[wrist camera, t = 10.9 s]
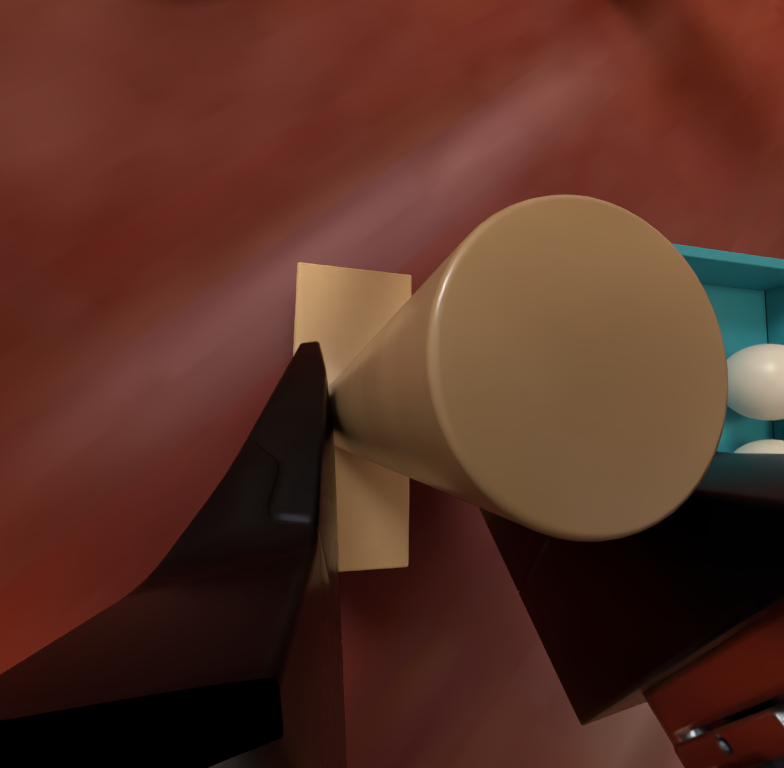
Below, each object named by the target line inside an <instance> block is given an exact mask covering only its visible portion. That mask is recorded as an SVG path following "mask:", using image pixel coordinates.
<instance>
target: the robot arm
mask: <svg viewBox="0 0 784 768" xmlns="http://www.w3.org/2000/svg"><path fill="white" fill-rule="evenodd" d="M479 509H480V511H481V513H482V515H483V517H484V520H485V522H486V524H487V526H488V528H489V530H490V532H491V534H492V537H493V539H494V541H495V543H496V545H497V547H498V549H499V551H500V554H501V556H502V558H503V560H504V562H505V564H506V566H507V569H508V571H509V573H510V575H511V577H512V579H513V581H514V583H515V586H516V588H517V590H518V591H520V592H519V595H520V597H521V599H522V601H523V603H524V605H525V607H526V609H527V612H528V614H529V616H530V618H531V620H532V622H533V624H534V626H535V629H536V631H537V633H538V635H539V637H540V639H541V641H542V643H543V646H544V648H545V650H546V652H547V654H548V656H549V658H550V660H551V663H552V665H553V667H554V669H555V671H556V673H557V675H558V677H559V680H560V682H561V684H562V686H563V688H564V690H565V692H566V695H567V697H568V699H569V701H570V703H571V705H572V707H573V709H574V711H575V713H576V715H577V717H578V719H579V721H580V723H581V725H586V724H588V723H591V722H594V721H596V720H599V719H602V718H604V717H607V716H610V715H612V714H615V713H618V712H620V711H623V710H626V709H628V708H631V707H634V706H636V705H639V704H642V703H644V702H648V704H649V706H650V707H651V709H652V711H653V712H654V714H655V716H656V717H657V719H658V721H659V722H660V724H661V726H662V727H663V729H664V731H665V732H666V734H667V736H668V737H669V739H670V741H671V742H672V744H673V746H674V749H675V752H676V754H677V756H678V757H679V759H680V761H681V762H682V764H683V766H684V767H685V768H784V454H769V453H728V452H720V451H716V453H715V456H714V458H713V460H712V463H711V465H710V467H709V469H708V470H707V472H706V474H705V476H704V477H703V479H702V481H701V482H700V484H699V485H698V487H697V488H696V489H695V490H694V492H693V493H692V494H691V495H690V497H689V498H688V499H687V500H686V501H685V502H684V503H683V504H682V505H681V506H680V507H679V508H678V509H677V510H676V511H675V512H674V513H672V514H671V515H669V516H668V517H667V518H665V519H664V520H662V521H661V522H660V523H658V524H656V525H654V526H652V527H650V528H648V529H646V530H644V531H642V532H640V533H636V534H633V535H630V536H627V537H624V538H620V539H614V540H607V541H600V542H575V541H570V540H564V539H559V538H554V537H551V536H548V535H545V534H543V533H540V532H537V531H534V530H532V529H529V528H527V527H525V526H522V525H520V524H517V523H515V522H513V521H510V520H508V519H506V518H503V517H501V516H499V515H496V514H494V513H491V512H489V511H487V510H484V509H482V508H480V507H479ZM341 641H342V632H341V606H340V579H339V552H338V526H337V499H336V472H335V445H334V432H333V424H332V416H331V407H330V398H329V390H328V382H327V373H326V367H325V363H324V359H323V354H322V350H321V346H320V343H319V342H318V341H312V342H305V343H301V344H300V345H299V347H298V349H297V351H296V352H295V354H294V356H293V358H292V359H291V361H290V363H289V365H288V367H287V368H286V370H285V372H284V374H283V375H282V377H281V379H280V381H279V383H278V384H277V386H276V388H275V390H274V391H273V393H272V395H271V397H270V399H269V400H268V402H267V404H266V406H265V408H264V409H263V411H262V413H261V415H260V416H259V418H258V420H257V422H256V424H255V425H254V427H253V429H252V431H251V432H250V434H249V436H248V439H247V440H246V441H245V443H244V444H243V446H242V448H241V450H240V452H239V454H238V455H237V457H236V458H235V460H234V462H233V463H232V465H231V467H230V468H229V470H228V472H227V473H226V475H225V476H224V477H223V479H222V480H221V482H220V483H219V485H218V486H217V487H216V489H215V490H214V492H213V493H212V495H211V496H210V497H209V499H208V500H207V501H206V503H205V504H204V505H203V507H202V508H201V509H200V511H199V512H198V513H197V515H196V516H195V517H194V519H193V520H192V522H191V523H190V524H189V526H188V527H187V528H186V530H185V531H184V532H183V534H182V535H181V536H180V538H179V539H178V540H177V542H176V543H175V544H174V546H173V547H172V548H171V550H170V551H169V552H168V554H167V555H166V556H165V558H164V559H163V560H162V561H161V563H160V564H159V565H158V566H157V568H156V569H155V570H154V571H153V572H152V573H151V574H150V575H149V576H148V578H147V579H145V580H144V581H143V582H142V583H141V584H140V585H139V586H138V587H137V588H136V589H135V590H133V591H132V592H131V593H130V594H128V595H127V596H126V597H124V598H123V599H121V600H120V601H118V602H116V603H115V604H113V605H112V606H110V607H108V608H107V609H105V610H104V611H102V612H100V613H99V614H97V615H96V616H94V617H92V618H91V619H89V620H88V621H86V622H84V623H83V624H81V625H80V626H78V627H76V628H75V629H73V630H71V631H70V632H68V633H67V634H65V635H63V636H62V637H60V638H59V639H57V640H55V641H54V642H52V643H51V644H49V645H47V646H46V647H44V648H43V649H41V650H39V651H38V652H36V653H34V654H33V655H31V656H30V657H28V658H26V659H25V660H23V661H22V662H20V663H18V664H17V665H15V666H14V667H12V668H10V669H9V670H7V671H6V672H4V673H2V674H1V675H0V768H347V765H346V738H345V712H344V685H343V658H342V642H341Z"/></svg>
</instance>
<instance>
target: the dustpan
mask: <svg viewBox="0 0 784 768" xmlns="http://www.w3.org/2000/svg"><path fill="white" fill-rule="evenodd" d="M672 245H673V246H674V247H675V248H676V249H677V250H678V251H679V252H680V254H681V255H682V256H683V257H684V258H685V260H686V261H687V262H688V264H689V265H690V267H691V268H692V270H693V271H694V272H695V274H696V275H697V277H698V279H699V281H700V282H701V284H702V286H703V288H704V289H705V291H706V293H707V296H708V298H709V300H710V302H711V305H712V307H713V309H714V312H715V315H716V318H717V321H718V324H719V327H720V330H721V334H722V338H723V343H724V347H725V353H726V360H727V359H728V358H729V357H730V356H731V355H733V354H734V353H736V352H738V351H739V350H742V349H744V348H747V347H750V346H754V345H759V344H780V345H784V260H783V259H776V258H769V257H762V256H755V255H748V254H741V253H734V252H727V251H720V250H713V249H706V248H699V247H692V246H685V245H678V244H672ZM764 291H765V293H764ZM765 295H766V310H765ZM766 311H767V326H766ZM767 328H768V343H767ZM773 426H774V439H775V440H783V441H784V419H781V420H773V425H772V420H757V419H752V418H748V417H746V416H743V415H741V414H739V413H737V412H735V411H733V410H732V409H731V408H729V407H728V406H727V411H726V417H725V422H724V428H723V432H722V435H721V439H720V442H719V445H718V449H717V451H720V452H728V453H733V452H734V451H735V450H737V449H738V448H740V447H741V446H743V445H745V444H747V443H750V442H753V441H758V440H766V439H773Z"/></svg>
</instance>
